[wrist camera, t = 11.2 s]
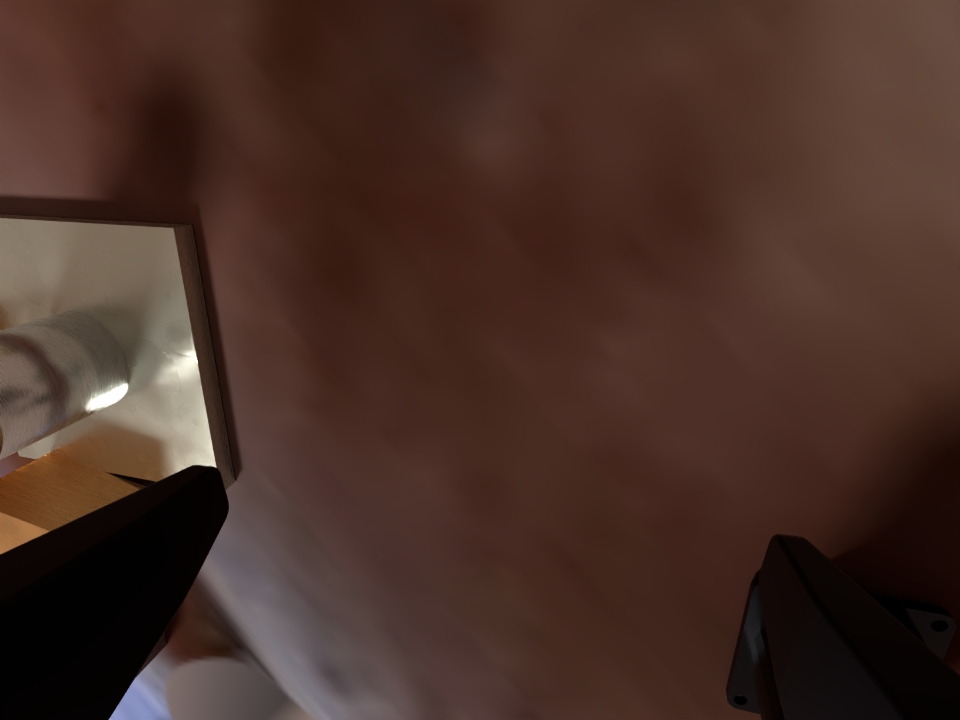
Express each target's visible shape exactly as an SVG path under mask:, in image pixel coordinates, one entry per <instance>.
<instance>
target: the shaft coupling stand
mask: <svg viewBox="0 0 960 720" xmlns="http://www.w3.org/2000/svg"><path fill="white" fill-rule="evenodd" d="M65 311H76V312H81V313H84V314H86V315H89V316H91V317H93V318H94V319H96V320H97V321H99V322H100V323H101V324H103V325H104V326H105V327H106V328H107V329H108V330H109V331H110V332H111V333H112V334H113V336H114V337H115V338H116V340H117V341H118V343H119V344H120V346H121V348H122V350H123V352H124V354H125V357H126V360H127V363H128V368H129V384H128V388H127V391H126V393H125V394H124V396H123V397H122V398H121V399H120V400H119V401H117V402H116V403H114V404H112V405H110V406H108V407H106V408H104V409H102V410H100V411H98V412H96V413H94V414H92V415H90V416H88V417H86V418H84V419H82V420H80V421H78V422H76V423H74V424H72V425H70V426H68V427H66V428H63V429H61V430H59V431H57V432H55V433H53V434H51V435H49V436H47V437H45V438H43V439H41V440H39V441H37V442H35V443H33V444H31V445H29V446H27V447H25V448H23V449H21V450H19V451H18V453H19V456H23V457H28V458H33V459H36V460H34V461H32V462H31V463H29V464H27V465H25V466H23V467H21V468H19V469H17V470H15V471H13V472H11V473H9V474H7V475H5V476H4V477H2V478H0V554H2V553H4V552H6V551H8V550H11V549H13V548H15V547H17V546H19V545H21V544H24V543H26V542H28V541H30V540H32V539H34V538H36V537H39V536H41V535H43V534H45V533H47V532H49V531H52V530H54V529H56V528H58V527H60V526H62V525H65V524H67V523H69V522H71V521H73V520H75V519H77V518H80V517H82V516H84V515H86V514H88V513H90V512H93V511H95V510H97V509H99V508H101V507H103V506H105V505H108V504H110V503H112V502H114V501H116V500H118V499H121V498H123V497H125V496H127V495H129V494H131V493H133V492H136V491H138V490H140V489H142V488H144V487H146V486H143V485H141V484H138V483H135V482H132V481H129V480H127V479H124V478H121V477H118V476H116V475H113V474H110V473H114V474H119V475H124V476H130V477H135V478H140V479H146V480H151V481H156V482H157V481H159V480H161V479H164V478H166V477H168V476H170V475H172V474H174V473H177V472H179V471H181V470H183V469H185V468H187V467H189V466H192V465H204V466H212V467H216V468H218V470H219V471H220V472H221V475H222V479H223V483H224V487H225V490H226V489H227V488H228V487H229V486H231V485H232V484H233V483H234V482H235V478H234V472H233V466H232V460H231V454H230V448H229V442H228V436H227V430H226V424H225V418H224V412H223V406H222V400H221V394H220V388H219V382H218V376H217V370H216V364H215V358H214V353H213V347H212V341H211V335H210V329H209V323H208V317H207V311H206V305H205V299H204V293H203V287H202V281H201V275H200V269H199V263H198V257H197V251H196V245H195V239H194V233H193V227H192V225H185V224H167V223H149V222H132V221H114V220H96V219H78V218H60V217H43V216H25V215H7V214H0V330H2V329H6V328H9V327H13V326H16V325H20V324H23V323H26V322H30V321H33V320H37V319H40V318H44V317H47V316H50V315H54V314H57V313H61V312H65ZM107 472H108V473H107ZM165 646H166V632H164V633H163V635H162V636H161V638H160V640H159V641H158V643H157V644H156V646H155V647H154V649H153V651H152V652H151V654H150V655H149V657H148V658H147V660H146V662H145V663H144V665H143V666H142V668H141V670H140V671H139V673H140V672H141V671H142V670H143V669H144V668H145V667H146V666H147V665H148V664H149V663H150V662H151V661H152V660H153V659H154V658H155V657H156V656H157V655H158V653H159V652H160V651H161V650H162V649H163V648H164V647H165ZM139 673H138V674H137V676H138V675H139ZM137 676H136V677H137ZM136 677H135V678H136Z"/></svg>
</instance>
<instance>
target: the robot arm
mask: <svg viewBox="0 0 960 720" xmlns="http://www.w3.org/2000/svg"><path fill="white" fill-rule="evenodd" d="M228 510H229V503H228V498H227V494H226V491H225V487H224V483H223V479H222V475H221V472H220V471H219V470H218V468H216V467H212V466H204V465H192V466H189V467H187V468H185V469H183V470H181V471H179V472H177V473H174V474H172V475H170V476H168V477H166V478H164V479H161V480H159V481H157V482H155V483H153V484H151V485H149V486H146V487H144V488H142V489H140V490H138V491H136V492H133V493H131V494H129V495H127V496H125V497H123V498H121V499H118V500H116V501H114V502H112V503H110V504H108V505H105V506H103V507H101V508H99V509H97V510H95V511H93V512H90V513H88V514H86V515H84V516H82V517H80V518H77V519H75V520H73V521H71V522H69V523H67V524H65V525H62V526H60V527H58V528H56V529H54V530H52V531H49V532H47V533H45V534H43V535H41V536H39V537H36V538H34V539H32V540H30V541H28V542H26V543H24V544H21V545H19V546H17V547H15V548H13V549H11V550H8V551H6V552H4V553H2V554H0V720H109V718H110V717H111V715H112V714H113V712H114V711H115V709H116V707H117V706H118V704H119V703H120V701H121V700H122V698H123V696H124V695H125V693H126V692H127V690H128V688H129V687H130V685H131V684H132V682H133V681H134V679H135V677H136V676H137V674H138V673H139V671H140V670H141V668H142V666H143V665H144V663H145V662H146V660H147V658H148V657H149V655H150V654H151V652H152V651H153V649H154V647H155V646H156V644H157V643H158V641H159V640H160V638H161V636H162V635H163V633H164V632H165V630H166V628H167V627H168V625H169V624H170V622H171V621H172V619H173V617H174V616H175V614H176V613H177V611H178V609H179V608H180V606H181V604H182V603H183V601H184V599H185V598H186V596H187V594H188V592H189V590H190V589H191V587H192V585H193V583H194V581H195V579H196V577H197V575H198V573H199V571H200V569H201V567H202V565H203V563H204V561H205V559H206V557H207V555H208V553H209V551H210V549H211V547H212V545H213V543H214V542H215V540H216V538H217V536H218V534H219V532H220V530H221V528H222V526H223V524H224V522H225V520H226V517H227V514H228ZM936 620H941V621H940V622H937V623H932V622H934V621H936ZM956 626H957V624H956V622H955V620H954V619H953V617H952V616H951V614H950V613H949V612H948V611H947V610H946V609H945V608H942V607H939V606H934V605H928V604H923V603H917V602H912V601H906V600H900V599H895V598H889V597H884V596H878V595H872V594H868V593H867V592H866V591H864V590H863V589H862V588H861V587H860V586H859V585H858V584H857V583H855V582H854V581H853V580H852V579H851V578H850V577H849V576H848V575H846V574H845V573H844V572H843V571H842V570H841V569H840V568H838V567H837V566H836V565H835V564H834V563H833V562H832V561H831V560H829V559H828V558H827V557H826V556H825V555H824V554H823V553H822V552H820V551H819V550H818V549H817V548H816V547H815V546H814V545H813V544H811V543H810V542H809V541H808V540H806V539H805V538H803V537H799V536H791V535H783V534H776V535H774V536H773V537H772V538H771V540H770V542H769V545H768V548H767V551H766V554H765V557H764V561H763V564H762V567H761V570H760V573H759V576H758V577H756V578H755V579H753V580H752V582H751V585H750V589H749V593H748V597H747V602H746V606H745V610H744V614H743V619H742V623H741V627H740V631H739V636H738V640H737V644H736V648H735V653H734V657H733V661H732V665H731V670H730V674H729V678H728V682H727V687H726V694H727V700H728V702H729V704H730V705H731V706H733V707H734V708H737V709H740V710H745V711H749V712H753V713H758V714H760V715H761V719H762V720H960V675H959V674H958V673H957V672H956V671H955V670H954V669H952V668H951V667H950V666H949V665H948V664H947V663H946V662H945V661H943V659H944V657H945V655H946V652H947V650H948V647H949V645H950V643H951V640H952V638H953V635H954V633H955V631H956ZM738 695H739V696H738Z"/></svg>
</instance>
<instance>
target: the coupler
mask: <svg viewBox="0 0 960 720" xmlns="http://www.w3.org/2000/svg"><path fill="white" fill-rule="evenodd" d="M128 384H129V368H128V363H127V360H126V357H125V354H124V352H123V350H122V348H121V346H120V344H119V343H118V341H117V340H116V338H115V337H114V336H113V334H112V333H111V332H110V331H109V330H108V329H107V328H106V327H105V326H104V325H103V324H101V323H100V322H99V321H97V320H96V319H94V318H93V317H91V316H89V315H86V314H84V313H81V312H76V311H65V312H61V313H57V314H54V315H50V316H47V317H44V318H40V319H37V320H33V321H30V322H26V323H23V324H20V325H16V326H13V327H9V328H6V329H2V330H0V460H1V459H3V458H5V457H7V456H9V455H11V454H13V453H15V452H17V451H19V450H21V449H23V448H25V447H27V446H29V445H31V444H33V443H35V442H37V441H39V440H41V439H43V438H45V437H47V436H49V435H51V434H53V433H55V432H57V431H59V430H61V429H63V428H66V427H68V426H70V425H72V424H74V423H76V422H78V421H80V420H82V419H84V418H86V417H88V416H90V415H92V414H94V413H96V412H98V411H100V410H102V409H104V408H106V407H108V406H110V405H112V404H114V403H116V402H117V401H119V400H120V399H121V398H122V397H123V396H124V394H125V393H126V391H127V388H128Z"/></svg>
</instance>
